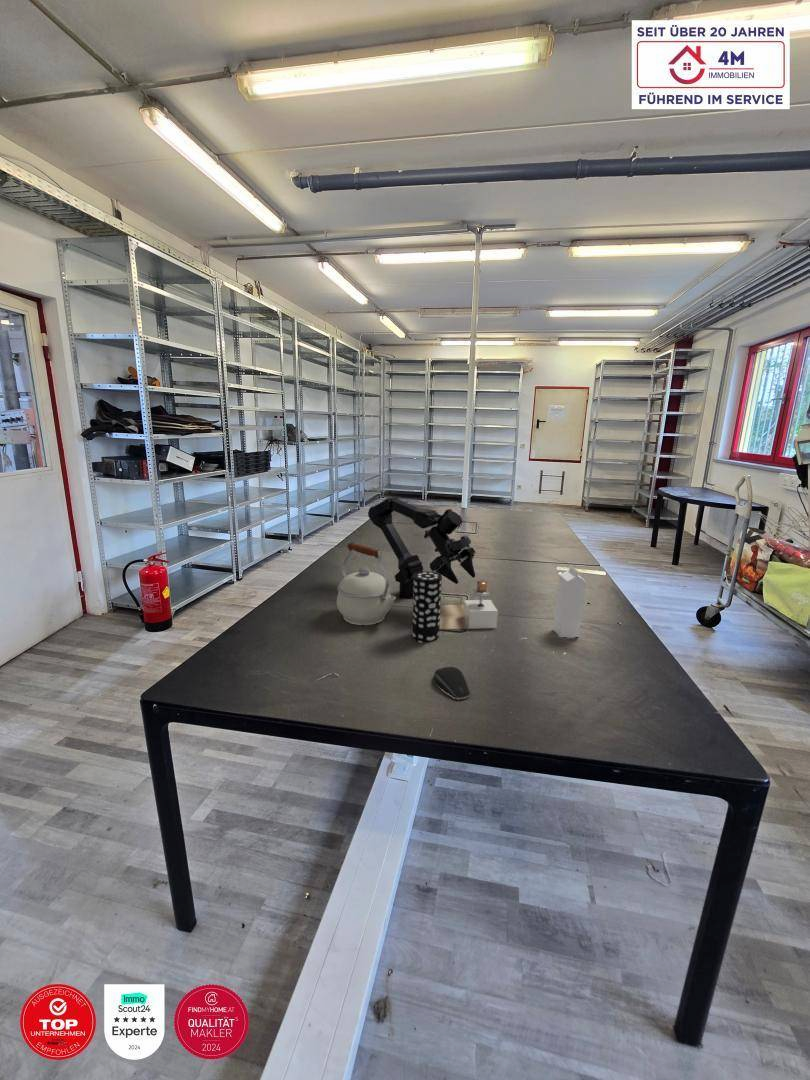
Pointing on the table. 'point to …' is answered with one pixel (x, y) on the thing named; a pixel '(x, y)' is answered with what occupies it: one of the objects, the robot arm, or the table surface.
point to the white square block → (480, 614)
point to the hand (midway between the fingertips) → (466, 580)
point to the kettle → (364, 591)
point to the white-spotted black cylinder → (426, 606)
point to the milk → (569, 604)
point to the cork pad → (452, 617)
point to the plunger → (481, 591)
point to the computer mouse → (452, 682)
